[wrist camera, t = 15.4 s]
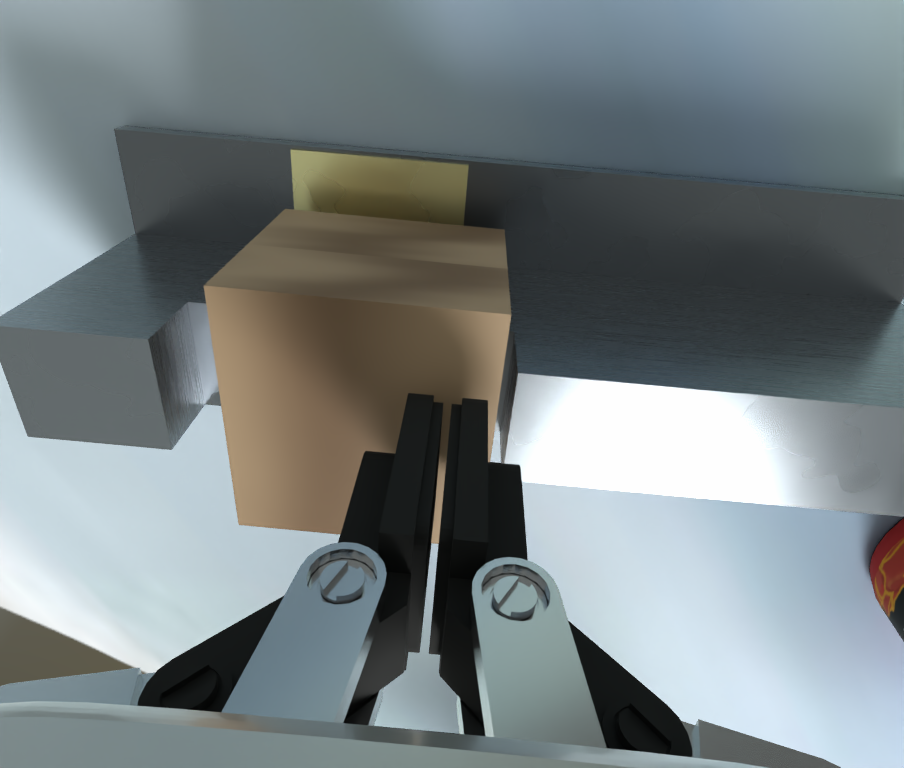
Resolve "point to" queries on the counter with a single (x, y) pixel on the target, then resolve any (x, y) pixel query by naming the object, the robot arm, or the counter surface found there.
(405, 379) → the tan slotted wooden block
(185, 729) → the robot arm
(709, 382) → the notched rail
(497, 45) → the counter surface
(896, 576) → the canned food
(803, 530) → the counter surface
